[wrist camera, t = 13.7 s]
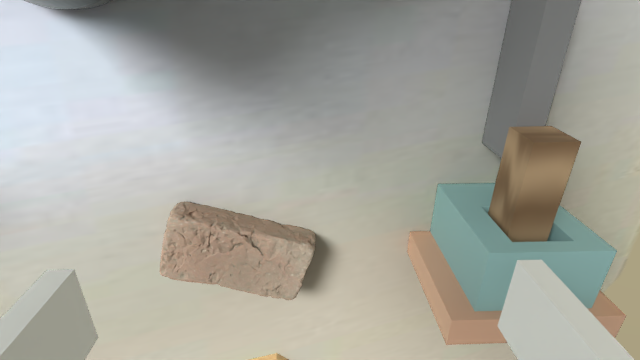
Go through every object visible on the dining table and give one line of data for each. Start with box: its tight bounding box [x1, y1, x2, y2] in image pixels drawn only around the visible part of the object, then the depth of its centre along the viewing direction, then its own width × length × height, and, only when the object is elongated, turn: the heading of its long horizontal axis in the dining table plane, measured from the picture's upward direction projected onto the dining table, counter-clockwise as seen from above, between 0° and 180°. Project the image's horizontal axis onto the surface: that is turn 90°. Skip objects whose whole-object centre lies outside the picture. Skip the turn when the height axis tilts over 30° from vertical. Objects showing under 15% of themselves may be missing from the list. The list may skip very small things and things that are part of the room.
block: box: [430, 183, 617, 311], centre depth 38 cm, size 6×11×13 cm, turn 90°
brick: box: [160, 202, 315, 300], centre depth 43 cm, size 17×8×5 cm, turn 73°
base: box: [407, 231, 626, 345], centre depth 40 cm, size 3×16×14 cm, turn 89°
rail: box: [482, 0, 581, 158], centre depth 35 cm, size 16×3×6 cm, turn 0°
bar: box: [488, 126, 581, 242], centre depth 35 cm, size 13×4×4 cm, turn 0°
